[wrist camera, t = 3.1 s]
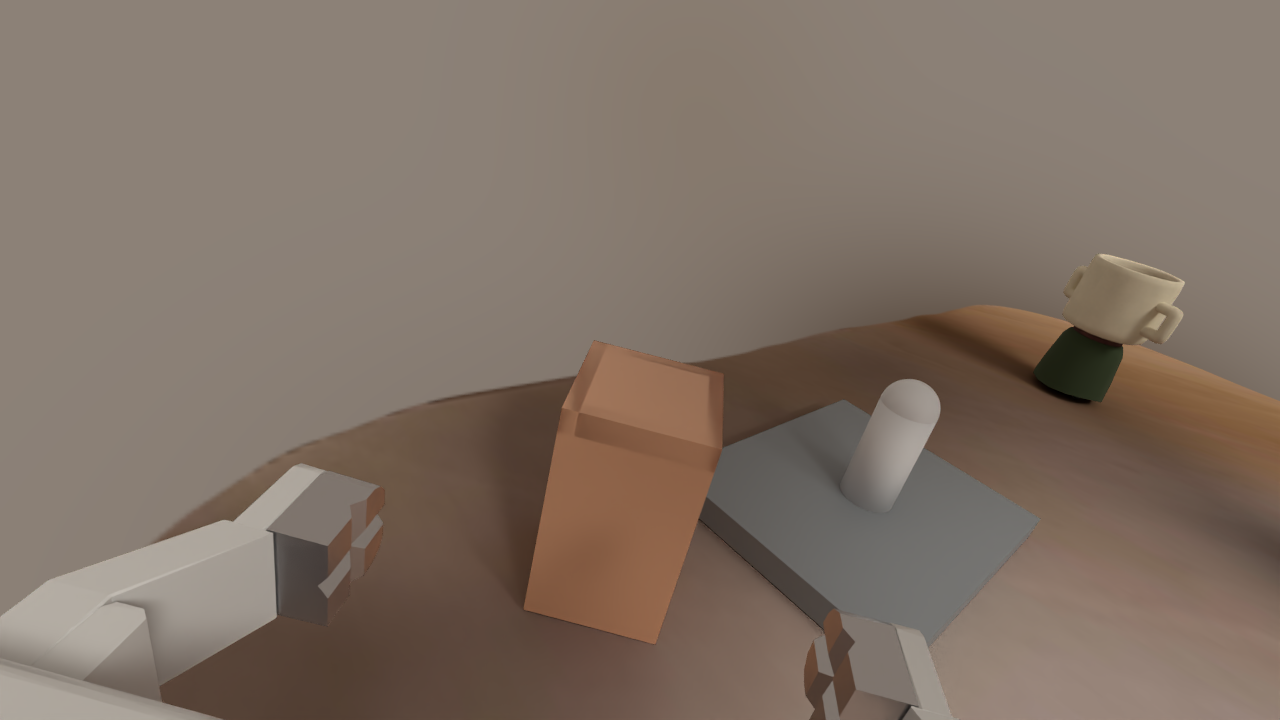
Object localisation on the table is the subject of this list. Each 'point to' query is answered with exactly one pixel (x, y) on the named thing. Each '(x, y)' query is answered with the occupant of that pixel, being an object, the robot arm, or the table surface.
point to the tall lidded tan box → (625, 490)
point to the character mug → (1108, 323)
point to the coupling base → (864, 513)
